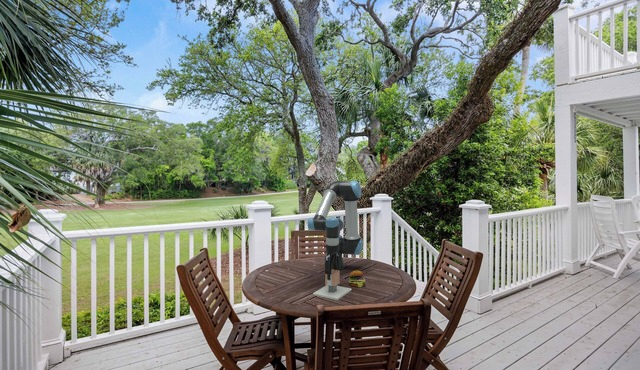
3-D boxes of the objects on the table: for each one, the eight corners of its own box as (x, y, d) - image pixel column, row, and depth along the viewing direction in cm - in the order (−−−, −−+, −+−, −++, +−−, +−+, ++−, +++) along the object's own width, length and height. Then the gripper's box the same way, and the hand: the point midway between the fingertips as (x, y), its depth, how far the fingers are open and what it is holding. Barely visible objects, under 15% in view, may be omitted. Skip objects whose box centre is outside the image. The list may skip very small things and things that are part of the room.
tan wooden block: (330, 281, 205) (330, 269, 205) (339, 283, 202) (339, 270, 201) (325, 284, 200) (325, 271, 199) (334, 286, 196) (334, 273, 196)
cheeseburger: (352, 288, 207) (351, 271, 209) (347, 287, 217) (345, 271, 219) (368, 286, 210) (366, 270, 212) (361, 285, 220) (360, 269, 222)
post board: (328, 285, 213) (328, 274, 212) (351, 290, 205) (351, 278, 204) (312, 294, 197) (312, 283, 197) (337, 300, 189) (337, 287, 189)
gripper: (334, 240, 210) (334, 278, 211) (318, 246, 193) (318, 287, 194) (345, 242, 206) (345, 279, 207) (329, 248, 189) (330, 289, 190)
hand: (332, 283), depth 201 cm, fingers closed on tan wooden block, 6 cm apart
